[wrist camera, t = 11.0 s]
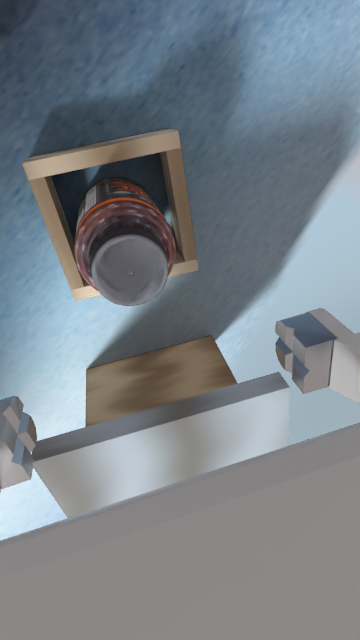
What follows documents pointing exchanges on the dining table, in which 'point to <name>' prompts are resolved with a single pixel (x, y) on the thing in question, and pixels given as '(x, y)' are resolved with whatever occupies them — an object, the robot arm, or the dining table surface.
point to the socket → (105, 153)
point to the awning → (161, 426)
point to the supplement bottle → (123, 242)
